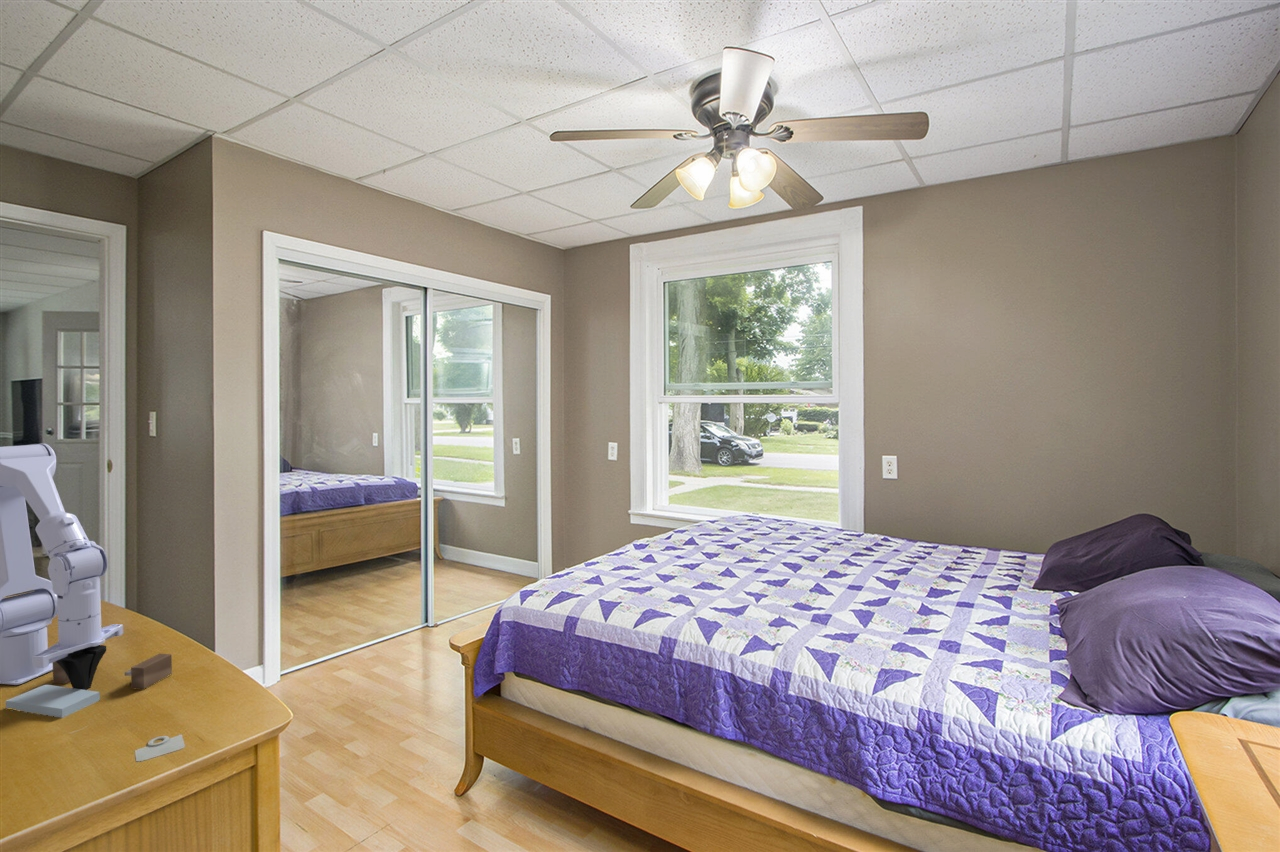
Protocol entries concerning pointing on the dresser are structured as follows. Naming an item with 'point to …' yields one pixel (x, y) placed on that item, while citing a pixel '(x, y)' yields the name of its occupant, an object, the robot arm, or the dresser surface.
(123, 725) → the dresser surface
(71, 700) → the cover plate
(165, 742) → the mounting bracket
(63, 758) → the dresser surface
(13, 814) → the dresser surface
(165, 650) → the dresser surface
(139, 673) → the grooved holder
